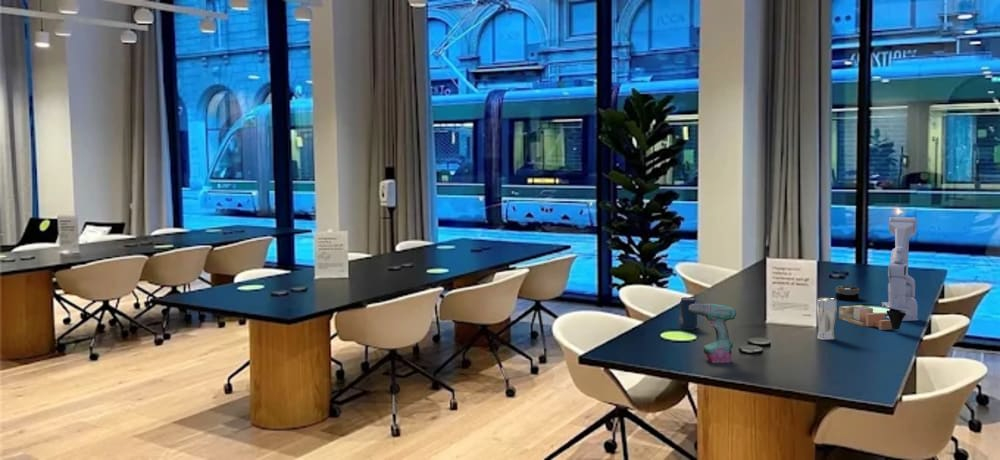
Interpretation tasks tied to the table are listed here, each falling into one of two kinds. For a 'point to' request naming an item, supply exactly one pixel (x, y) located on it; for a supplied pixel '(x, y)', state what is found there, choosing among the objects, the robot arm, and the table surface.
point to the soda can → (687, 313)
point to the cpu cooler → (847, 293)
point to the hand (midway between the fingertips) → (895, 329)
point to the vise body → (849, 314)
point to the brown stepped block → (878, 321)
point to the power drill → (717, 330)
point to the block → (861, 313)
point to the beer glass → (826, 318)
